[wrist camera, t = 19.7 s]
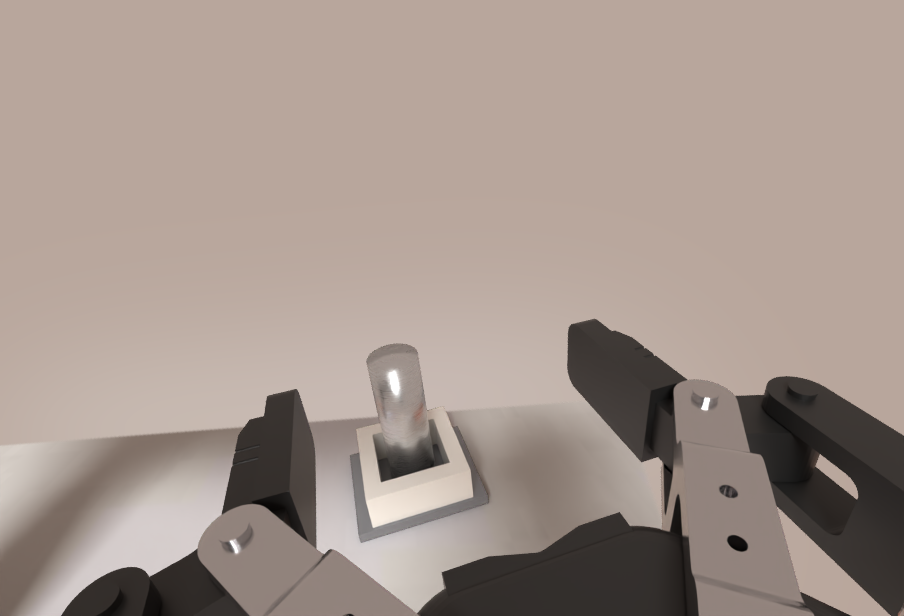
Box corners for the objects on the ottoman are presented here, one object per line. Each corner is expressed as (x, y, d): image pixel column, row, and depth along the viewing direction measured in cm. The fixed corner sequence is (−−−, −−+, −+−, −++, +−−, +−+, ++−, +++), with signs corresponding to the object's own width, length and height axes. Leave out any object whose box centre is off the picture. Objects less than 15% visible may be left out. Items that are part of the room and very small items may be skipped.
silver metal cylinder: (396, 498, 42) (369, 377, 36) (389, 464, 46) (363, 350, 40) (441, 484, 43) (422, 364, 37) (430, 453, 47) (412, 339, 41)
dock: (360, 542, 40) (350, 508, 38) (351, 462, 48) (343, 430, 46) (488, 502, 42) (485, 468, 40) (458, 432, 51) (454, 401, 49)
